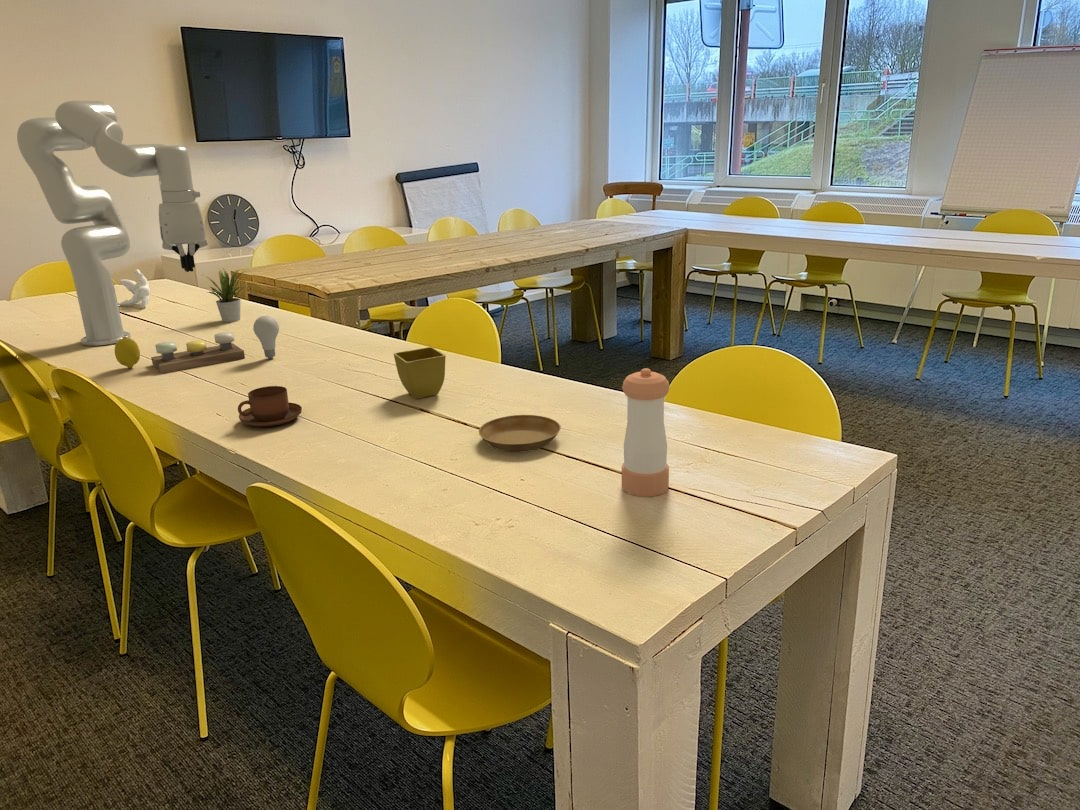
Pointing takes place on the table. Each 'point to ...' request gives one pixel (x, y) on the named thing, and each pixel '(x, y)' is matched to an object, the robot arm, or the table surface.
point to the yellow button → (196, 347)
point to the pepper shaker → (645, 435)
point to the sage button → (166, 350)
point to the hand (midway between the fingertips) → (188, 270)
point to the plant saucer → (519, 432)
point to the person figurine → (137, 290)
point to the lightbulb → (267, 334)
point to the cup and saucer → (268, 407)
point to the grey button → (224, 340)
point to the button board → (197, 359)
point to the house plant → (227, 297)
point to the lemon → (127, 352)
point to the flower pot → (421, 371)
